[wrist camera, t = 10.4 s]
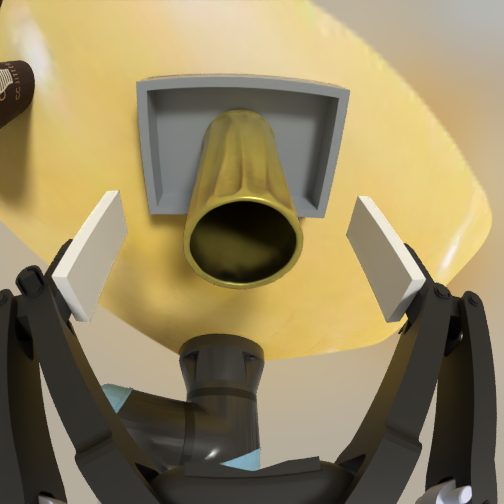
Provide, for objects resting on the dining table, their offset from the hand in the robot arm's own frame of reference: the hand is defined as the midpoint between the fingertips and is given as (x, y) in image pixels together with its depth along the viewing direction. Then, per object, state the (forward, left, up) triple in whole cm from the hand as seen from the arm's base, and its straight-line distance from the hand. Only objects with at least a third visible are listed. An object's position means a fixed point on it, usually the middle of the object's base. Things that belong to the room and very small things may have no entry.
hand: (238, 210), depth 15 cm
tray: (0, 0, -12) cm, 12 cm away
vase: (0, 0, -11) cm, 11 cm away
